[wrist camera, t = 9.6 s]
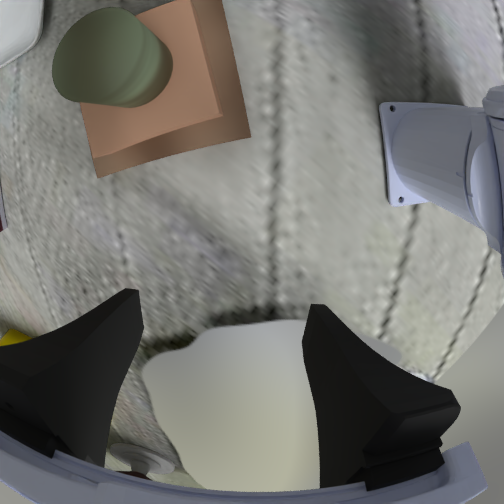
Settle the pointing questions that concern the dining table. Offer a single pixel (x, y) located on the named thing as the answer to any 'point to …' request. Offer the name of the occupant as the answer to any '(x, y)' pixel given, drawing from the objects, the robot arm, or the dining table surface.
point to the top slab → (172, 97)
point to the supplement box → (2, 214)
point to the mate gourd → (141, 460)
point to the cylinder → (111, 61)
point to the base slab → (205, 132)
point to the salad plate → (19, 27)
